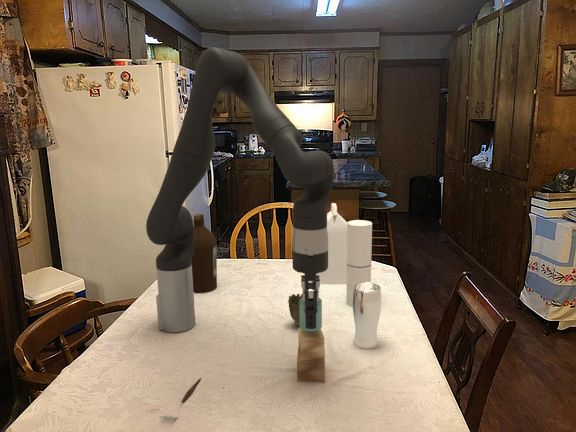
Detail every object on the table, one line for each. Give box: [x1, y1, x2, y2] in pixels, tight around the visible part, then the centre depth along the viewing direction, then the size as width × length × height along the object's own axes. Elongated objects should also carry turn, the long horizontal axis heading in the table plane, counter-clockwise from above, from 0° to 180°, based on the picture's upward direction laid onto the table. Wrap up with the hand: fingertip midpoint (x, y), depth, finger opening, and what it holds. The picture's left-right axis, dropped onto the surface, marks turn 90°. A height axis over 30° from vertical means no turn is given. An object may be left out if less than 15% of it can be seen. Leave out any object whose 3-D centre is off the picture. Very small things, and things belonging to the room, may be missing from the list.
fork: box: [159, 377, 202, 420], centre depth 96 cm, size 3×16×2 cm, turn 166°
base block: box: [296, 346, 326, 383], centre depth 104 cm, size 6×6×5 cm
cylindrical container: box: [345, 219, 373, 308], centre depth 139 cm, size 7×7×25 cm
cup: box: [287, 292, 303, 328], centre depth 127 cm, size 8×7×8 cm
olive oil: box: [192, 213, 218, 294], centre depth 154 cm, size 11×11×25 cm
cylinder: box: [299, 297, 323, 331], centre depth 102 cm, size 5×5×6 cm
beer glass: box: [352, 282, 382, 350], centre depth 116 cm, size 7×7×15 cm
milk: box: [316, 202, 348, 285], centre depth 161 cm, size 12×12×26 cm
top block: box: [297, 327, 325, 360], centre depth 103 cm, size 5×5×5 cm
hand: (310, 322), depth 102 cm, fingers closed on cylinder, 4 cm apart
